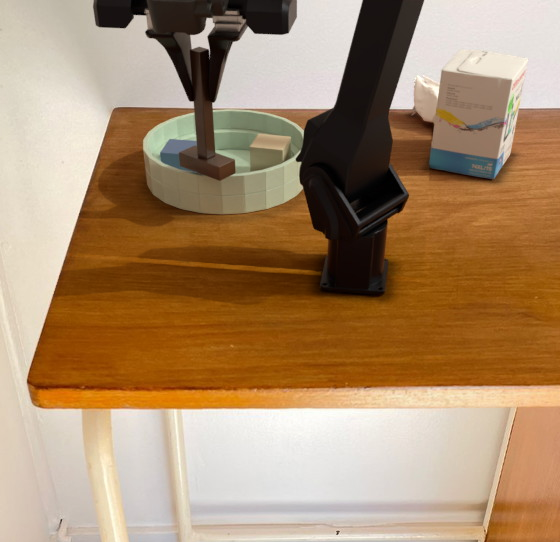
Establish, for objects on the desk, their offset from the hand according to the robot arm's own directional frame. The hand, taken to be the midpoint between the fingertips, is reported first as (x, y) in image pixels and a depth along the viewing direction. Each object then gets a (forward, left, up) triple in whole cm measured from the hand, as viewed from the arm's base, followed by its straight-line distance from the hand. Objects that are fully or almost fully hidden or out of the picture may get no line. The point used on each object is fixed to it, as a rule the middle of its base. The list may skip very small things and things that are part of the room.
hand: (202, 100), depth 87 cm
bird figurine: (+31, -25, -13) cm, 42 cm away
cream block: (+11, -5, -12) cm, 17 cm away
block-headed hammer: (0, 0, -7) cm, 7 cm away
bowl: (+10, 0, -13) cm, 16 cm away
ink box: (+20, -29, -13) cm, 37 cm away
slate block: (+8, +5, -12) cm, 15 cm away
